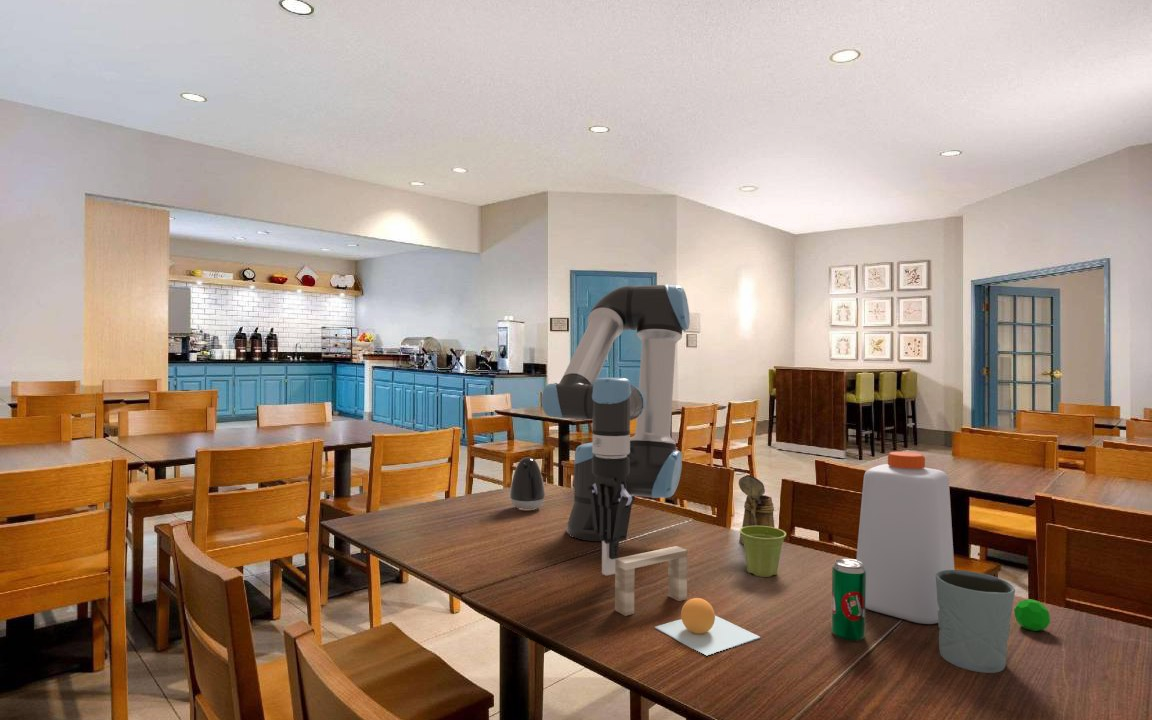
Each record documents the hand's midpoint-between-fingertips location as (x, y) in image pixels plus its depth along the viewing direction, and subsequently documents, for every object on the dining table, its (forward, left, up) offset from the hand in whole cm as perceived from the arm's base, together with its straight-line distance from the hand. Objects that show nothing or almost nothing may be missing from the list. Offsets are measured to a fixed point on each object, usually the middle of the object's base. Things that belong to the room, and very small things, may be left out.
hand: (609, 573), depth 128 cm
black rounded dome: (-61, +15, -2) cm, 63 cm away
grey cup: (+55, +28, -2) cm, 62 cm away
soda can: (+40, +19, -2) cm, 44 cm away
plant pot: (+12, +31, -2) cm, 33 cm away
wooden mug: (-2, +45, -2) cm, 45 cm away
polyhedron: (+55, +48, -2) cm, 73 cm away
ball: (+26, -1, +1) cm, 26 cm away
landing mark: (+27, 0, -2) cm, 27 cm away
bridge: (+13, 0, -2) cm, 13 cm away
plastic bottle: (+38, +39, -2) cm, 54 cm away
